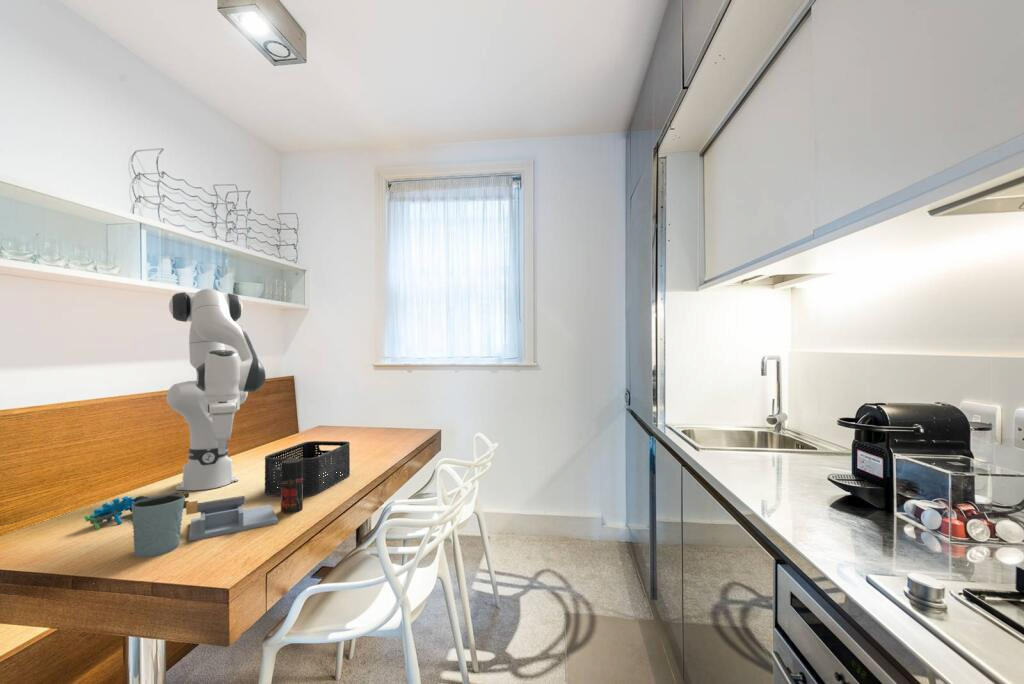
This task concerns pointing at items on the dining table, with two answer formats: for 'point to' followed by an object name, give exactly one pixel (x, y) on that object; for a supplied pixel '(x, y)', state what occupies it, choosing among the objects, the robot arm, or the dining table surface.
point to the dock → (230, 521)
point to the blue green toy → (110, 511)
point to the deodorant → (291, 486)
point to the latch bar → (213, 504)
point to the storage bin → (310, 466)
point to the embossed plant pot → (157, 524)
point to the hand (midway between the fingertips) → (221, 451)
